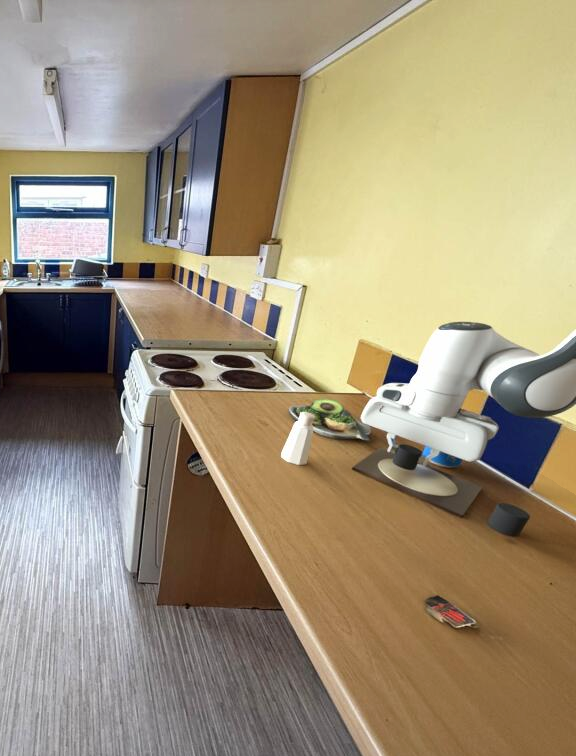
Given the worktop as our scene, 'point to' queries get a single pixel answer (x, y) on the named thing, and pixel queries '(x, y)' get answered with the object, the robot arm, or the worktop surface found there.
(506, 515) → the dot right
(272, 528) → the worktop surface
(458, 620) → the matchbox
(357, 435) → the salad plate
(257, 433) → the worktop surface
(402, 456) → the dot left
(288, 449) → the pepper shaker
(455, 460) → the beverage can
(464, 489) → the board
